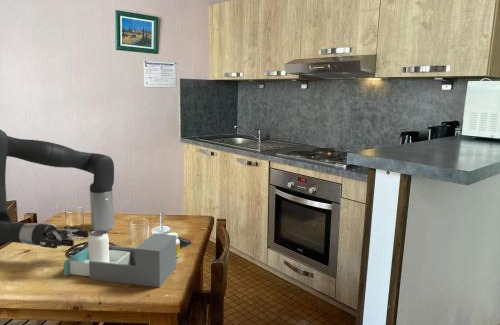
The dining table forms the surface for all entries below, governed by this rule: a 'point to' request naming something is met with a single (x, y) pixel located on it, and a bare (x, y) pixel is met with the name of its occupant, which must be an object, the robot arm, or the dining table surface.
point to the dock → (140, 263)
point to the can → (98, 246)
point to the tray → (81, 261)
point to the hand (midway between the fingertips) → (80, 238)
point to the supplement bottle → (176, 245)
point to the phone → (184, 242)
